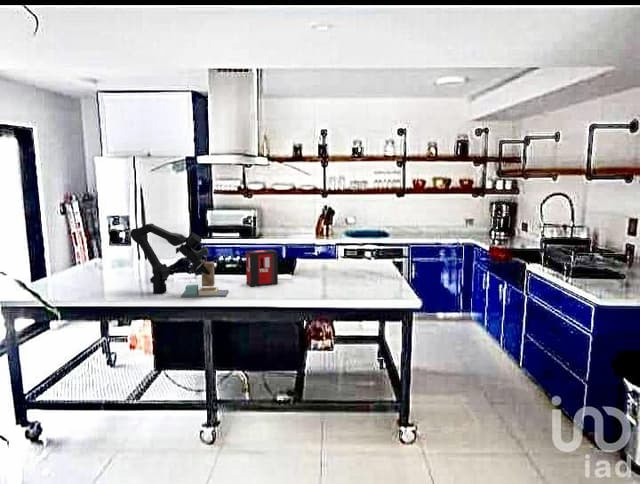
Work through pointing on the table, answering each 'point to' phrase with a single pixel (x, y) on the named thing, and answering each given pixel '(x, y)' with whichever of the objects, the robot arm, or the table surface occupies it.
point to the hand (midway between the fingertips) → (210, 273)
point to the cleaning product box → (261, 268)
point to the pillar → (208, 279)
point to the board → (203, 292)
